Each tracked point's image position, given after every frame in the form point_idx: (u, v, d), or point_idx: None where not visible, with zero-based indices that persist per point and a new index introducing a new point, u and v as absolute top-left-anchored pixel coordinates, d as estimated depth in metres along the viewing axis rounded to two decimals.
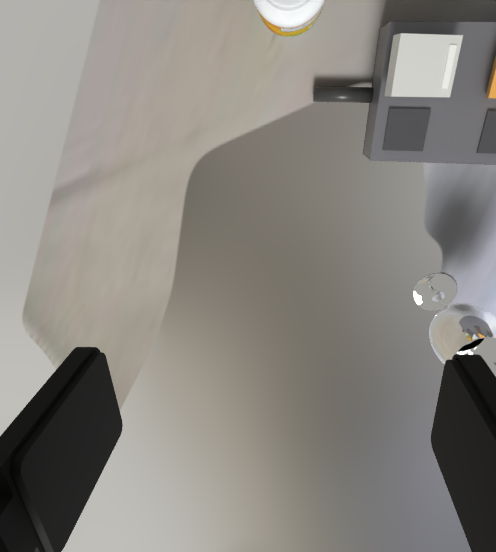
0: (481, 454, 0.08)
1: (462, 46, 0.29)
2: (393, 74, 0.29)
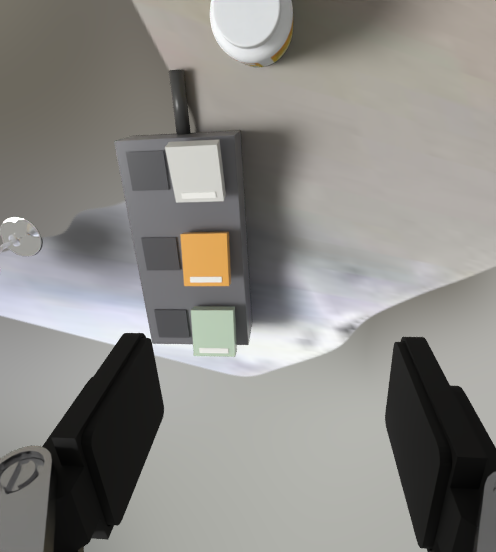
0: (415, 425, 0.09)
1: (221, 204, 0.34)
2: (184, 145, 0.30)
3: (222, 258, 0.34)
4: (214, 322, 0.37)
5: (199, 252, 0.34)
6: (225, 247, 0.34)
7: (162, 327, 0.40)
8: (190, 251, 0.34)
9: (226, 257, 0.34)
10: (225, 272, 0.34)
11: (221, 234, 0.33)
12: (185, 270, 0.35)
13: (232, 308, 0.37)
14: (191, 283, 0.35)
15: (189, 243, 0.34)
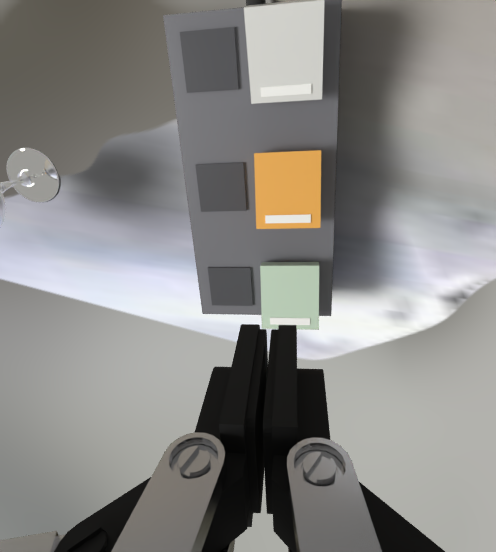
0: None
1: (312, 110, 0.24)
2: (272, 4, 0.20)
3: (313, 187, 0.24)
4: (293, 282, 0.27)
5: (280, 179, 0.24)
6: (317, 171, 0.24)
7: (217, 291, 0.30)
8: (267, 178, 0.24)
9: (319, 186, 0.24)
10: (316, 208, 0.24)
11: (313, 152, 0.23)
12: (259, 206, 0.25)
13: (317, 263, 0.27)
14: (267, 224, 0.25)
15: (266, 166, 0.24)
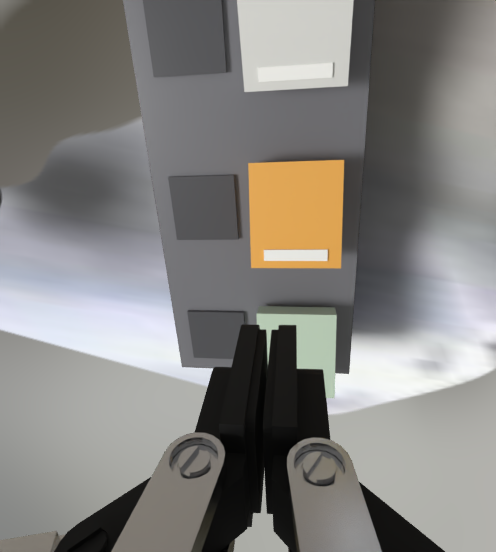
0: None
1: (330, 102, 0.17)
2: None
3: (331, 212, 0.17)
4: (300, 336, 0.20)
5: (285, 200, 0.17)
6: (338, 190, 0.17)
7: (200, 340, 0.23)
8: (267, 198, 0.17)
9: (340, 210, 0.17)
10: (336, 241, 0.17)
11: (333, 162, 0.16)
12: (255, 237, 0.18)
13: (333, 311, 0.20)
14: (266, 262, 0.18)
15: (265, 182, 0.17)
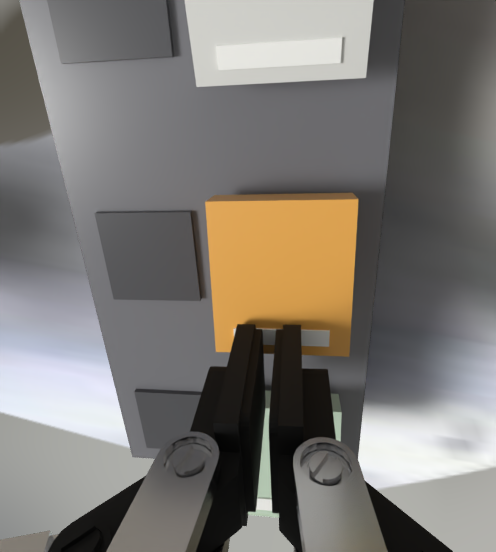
0: None
1: (336, 106, 0.11)
2: None
3: (337, 278, 0.11)
4: None
5: (264, 259, 0.11)
6: (348, 245, 0.11)
7: (154, 428, 0.17)
8: (236, 255, 0.11)
9: (350, 275, 0.11)
10: (342, 319, 0.11)
11: (340, 203, 0.10)
12: (220, 309, 0.12)
13: (336, 402, 0.14)
14: None
15: (233, 231, 0.11)
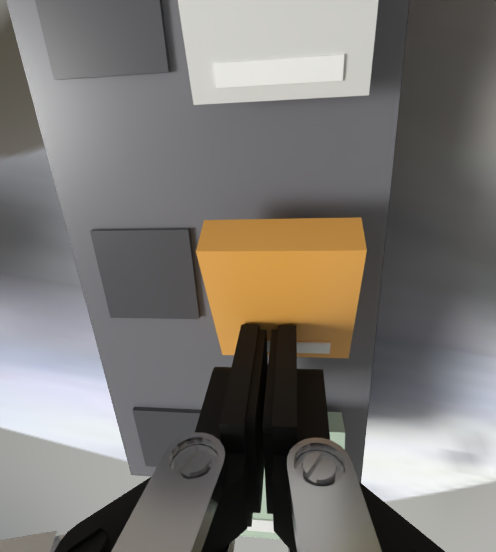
0: None
1: (337, 121, 0.10)
2: None
3: (339, 309, 0.11)
4: None
5: (264, 295, 0.10)
6: (353, 286, 0.10)
7: (153, 446, 0.17)
8: (235, 292, 0.11)
9: (353, 307, 0.11)
10: (343, 335, 0.12)
11: (347, 253, 0.09)
12: (223, 329, 0.12)
13: (339, 422, 0.14)
14: None
15: (230, 274, 0.10)
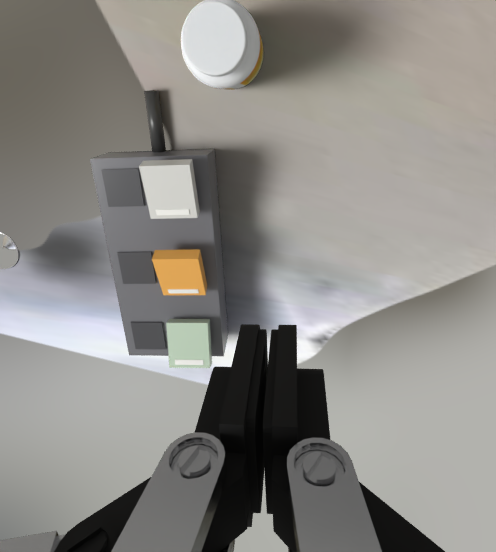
0: None
1: (195, 220, 0.35)
2: (157, 164, 0.31)
3: (196, 276, 0.35)
4: (190, 334, 0.38)
5: (173, 272, 0.35)
6: (198, 269, 0.34)
7: (138, 339, 0.40)
8: (164, 271, 0.35)
9: (200, 276, 0.35)
10: (201, 286, 0.36)
11: (193, 259, 0.33)
12: (162, 284, 0.36)
13: (207, 320, 0.38)
14: (170, 293, 0.37)
15: (162, 266, 0.34)
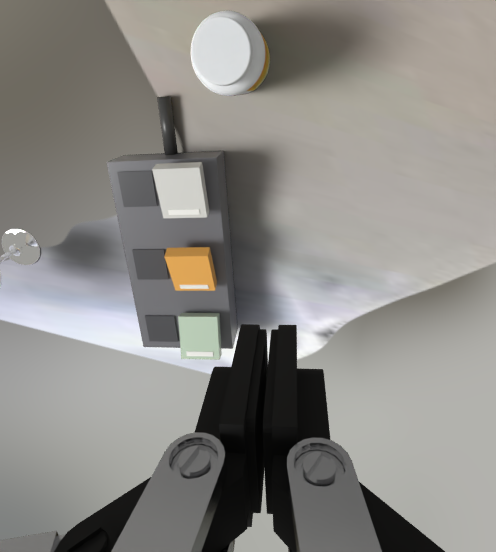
0: None
1: (205, 219, 0.37)
2: (169, 167, 0.33)
3: (206, 273, 0.37)
4: (200, 327, 0.40)
5: (184, 269, 0.37)
6: (207, 266, 0.36)
7: (152, 331, 0.43)
8: (176, 268, 0.37)
9: (210, 272, 0.37)
10: (210, 282, 0.38)
11: (203, 257, 0.35)
12: (174, 280, 0.38)
13: (217, 314, 0.40)
14: (182, 288, 0.39)
15: (174, 262, 0.36)
